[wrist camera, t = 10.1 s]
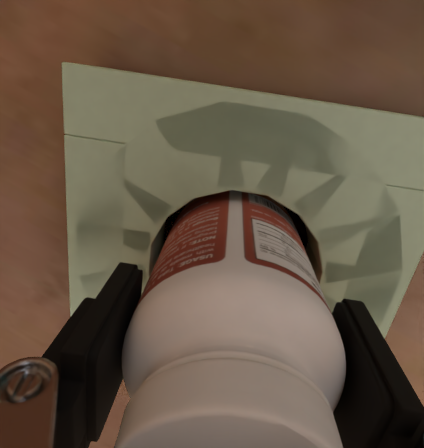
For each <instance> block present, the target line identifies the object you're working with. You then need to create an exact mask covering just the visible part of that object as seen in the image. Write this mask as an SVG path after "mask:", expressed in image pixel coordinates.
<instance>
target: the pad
mask: <svg viewBox="0 0 424 448" xmlns="http://www.w3.org/2000/svg"><path fill="white" fill-rule="evenodd" d="M62 90H63V119H64V134H66V135H64V148H65V177H66V207H67V236H68V265H69V294H70V317H71V316H72V314H73V313H74V312H75V310H76V309H77V308H78V306H79V305H80V303H81V302H82V301H83V300H84V299H85V298H87V297H89V298H96V297H97V295H98V294H99V292H100V291H101V289H102V288H103V286H104V285H105V283H106V282H107V280H108V279H109V277H110V276H111V274H112V273H113V271H114V270H115V268H116V267H117V265H118V264H119V263H120V262H123V263H130V264H136V265H137V266H138V269H139V270H143V279H142V293H143V291H144V288H145V286H146V284H147V282H148V280H149V277H150V275H151V273H152V271H153V269H154V266H155V264H156V262H157V260H158V257H159V255H160V253H161V251H162V248H163V246H164V244H163V243H164V232H165V222H166V219H167V217H169V216H170V215H172V214H173V213H174V212H176V211H177V210H179V209H180V208H182V207H183V206H184V205H186V204H187V203H189V202H190V201H191V200H193V199H194V198H198V197H203V196H207V195H212V194H216V193H221V192H225V191H230V190H234V191H240V192H247V193H253V194H259V195H266V196H268V197H270V198H272V199H273V200H275V201H276V202H278V203H280V204H281V205H283V206H285V207H286V208H288V209H290V210H291V211H293V212H295V213H296V214H298V215H299V216H300V218H301V219H302V221H303V222H304V224H305V225H306V232H307V238H308V243H307V247H306V250H305V251H306V254H307V256H308V258H309V261H310V263H311V266H312V268H313V270H314V273H315V275H316V278H317V280H318V282H319V285H320V287H321V290H322V292H323V295H324V297H325V299H326V302H327V304H328V306H329V308H330V311H331V313H332V312H333V310H334V307H335V304H336V303H337V302H341V301H342V300H343V299H351V300H357V301H362V302H363V303H364V304H365V306H366V308H367V309H368V311H369V313H370V315H371V316H372V318H373V320H374V321H375V323H376V325H377V327H378V328H379V330H380V332H381V334H382V335H383V337H384V339H385V337H386V334H387V332H388V330H389V328H390V325H391V323H392V321H393V319H394V317H395V314H396V312H397V310H398V308H399V305H400V303H401V301H402V299H403V296H404V294H405V292H406V290H407V287H408V285H409V283H410V281H411V278H412V276H413V274H414V272H415V269H416V267H417V265H418V263H419V261H420V258H421V256H422V254H423V252H424V117H422V116H416V115H409V114H403V113H396V112H390V111H383V110H377V109H370V108H364V107H357V106H351V105H345V104H338V103H332V102H325V101H319V100H312V99H306V98H299V97H293V96H286V95H280V94H273V93H267V92H261V91H254V90H248V89H241V88H235V87H228V86H222V85H215V84H209V83H202V82H196V81H189V80H183V79H177V78H170V77H164V76H157V75H151V74H144V73H138V72H131V71H125V70H118V69H112V68H105V67H99V66H92V65H84V64H77V63H70V62H62ZM142 293H141V295H142ZM123 379H124V378H123Z"/></svg>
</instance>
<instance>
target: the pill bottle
mask: <svg viewBox="0 0 424 448" xmlns="http://www.w3.org/2000/svg"><path fill="white" fill-rule="evenodd" d="M121 359H122V372H123V378H124V382H125V386H126V389H127V391H128V394H129V396H130V398H131V399H130V401H129V402H128V404H127V406H126V409H125V411H124V415H123V418H122V423H121V426H120V430H119V433H118V437H117V440H116V443H115V446H114V448H343V445H342V442H341V439H340V435H339V432H338V428H337V425H336V422H335V419H334V415H333V411H334V410H335V408H336V406H337V404H338V402H339V400H340V397H341V394H342V391H343V388H344V383H345V377H346V358H345V351H344V346H343V342H342V339H341V336H340V333H339V331H338V328H337V326H336V323H335V320H334V318H333V316H332V313H331V311H330V308H329V306H328V304H327V302H326V299H325V297H324V295H323V292H322V290H321V287H320V285H319V282H318V280H317V278H316V275H315V273H314V270H313V268H312V266H311V263H310V261H309V258H308V256H307V254H306V251H305V249H304V246H303V244H302V241H301V239H300V236H299V234H298V232H297V229H296V227H295V225H294V222H293V220H292V219H291V217H290V215H289V214H288V212H287V211H286V210H285V208H284V207H283V206H282V205H281V204H280V203H278V202H276V201H275V200H273V199H272V198H270V197H268V196H266V195H259V194H253V193H247V192H240V191H234V190H230V191H225V192H221V193H216V194H212V195H207V196H203V197H198V198H195V199H193V200H192V201H191V202H190V203H188V204H187V205H186V206H185V207H184V209H183V210H182V211H181V212H180V214H179V215H178V217H177V218H176V220H175V222H174V224H173V226H172V228H171V230H170V232H169V235H168V237H167V239H166V242H165V244H164V246H163V248H162V251H161V253H160V255H159V257H158V260H157V262H156V264H155V266H154V269H153V271H152V273H151V275H150V277H149V280H148V282H147V284H146V286H145V288H144V291H143V293H142V295H141V297H140V299H139V302H138V304H137V306H136V308H135V310H134V313H133V316H132V318H131V321H130V323H129V326H128V329H127V331H126V334H125V338H124V343H123V348H122V358H121Z"/></svg>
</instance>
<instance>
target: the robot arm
mask: <svg viewBox="0 0 424 448" xmlns="http://www.w3.org/2000/svg"><path fill="white" fill-rule="evenodd" d="M142 279H143V270H139V269H138V266H137V265H136V264H130V263H123V262H120V263H119V264H118V265H117V267H116V268H115V270H114V271H113V273H112V274H111V276H110V277H109V279H108V280H107V282H106V283H105V285H104V286H103V288H102V289H101V291H100V292H99V294H98V295H97V297H96V298H89V297H87V298H85V299H84V300H83V301H82V302H81V303H80V305H79V306H78V308H77V309H76V310H75V312H74V313H73V314H72V316H71V317H70V319H69V320H68V321H67V323H66V324H65V325H64V327H63V328H62V330H61V331H60V332H59V334H58V335H57V337H56V338H55V339H54V341H53V342H52V343H51V345H50V346H49V348H48V349H47V350H46V352H45V353H44V354H43V356H42V357H27V358H23V359H18V360H16V361H14V362H12V363H9V364H7V365H6V366H4V367H3V368H2V369H0V448H88V447H89V445H90V442H91V441H95V442H97V441H98V439H99V437H100V435H101V432H102V430H103V427H104V425H105V422H106V420H107V417H108V415H109V412H110V410H111V407H112V405H113V402H114V399H115V397H116V394H117V392H118V389H119V387H120V384H121V382H122V379H123V372H122V359H121V358H122V348H123V343H124V338H125V334H126V331H127V329H128V326H129V323H130V321H131V318H132V316H133V313H134V310H135V308H136V306H137V304H138V302H139V299H140V297H141V293H142ZM332 316H333V318H334V320H335V323H336V326H337V328H338V331H339V333H340V336H341V339H342V342H343V346H344V351H345V358H346V377H345V383H344V388H343V391H342V394H341V397H340V400H339V402H338V404H337V406H336V408H335V410H334V411H333V415H334V419H335V422H336V425H337V428H338V432H339V435H340V439H341V442H342V445H343V448H424V407H423V405H422V403H421V402H420V400H419V398H418V396H417V395H416V393H415V391H414V389H413V388H412V386H411V384H410V382H409V381H408V379H407V377H406V375H405V374H404V372H403V370H402V368H401V367H400V365H399V363H398V362H397V360H396V358H395V356H394V355H393V353H392V351H391V349H390V348H389V346H388V344H387V342H386V341H385V339H384V337H383V335H382V334H381V332H380V330H379V328H378V327H377V325H376V323H375V321H374V320H373V318H372V316H371V315H370V313H369V311H368V309H367V308H366V306H365V304H364V303H363V302H362V301H357V300H351V299H343V300H342V301H341V302H337V303H336V304H335V307H334V310H333V312H332Z"/></svg>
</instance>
